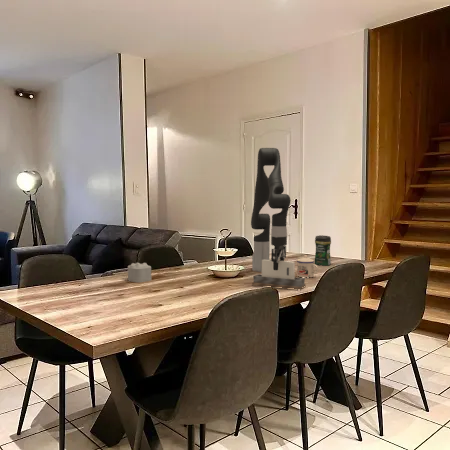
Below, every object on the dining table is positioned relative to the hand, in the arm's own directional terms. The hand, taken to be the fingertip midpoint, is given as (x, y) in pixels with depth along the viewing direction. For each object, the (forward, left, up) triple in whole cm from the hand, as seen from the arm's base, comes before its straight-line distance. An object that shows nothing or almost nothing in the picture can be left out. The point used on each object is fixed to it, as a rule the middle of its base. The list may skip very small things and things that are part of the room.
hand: (278, 268), depth 217 cm
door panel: (0, 0, -7) cm, 7 cm away
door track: (0, 0, -9) cm, 9 cm away
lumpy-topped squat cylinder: (-72, -16, -9) cm, 74 cm away
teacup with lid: (+6, +29, -9) cm, 31 cm away
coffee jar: (+3, +72, -9) cm, 73 cm away
